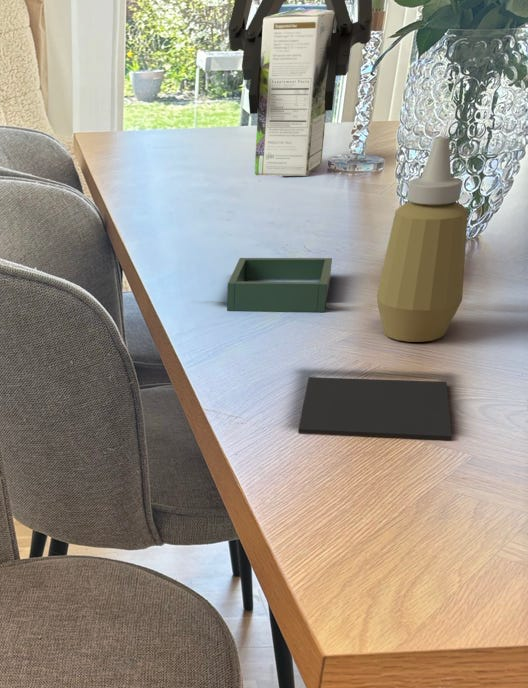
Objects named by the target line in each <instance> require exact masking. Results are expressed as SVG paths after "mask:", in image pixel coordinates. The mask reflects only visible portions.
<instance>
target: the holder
mask: <svg viewBox="0 0 528 688" xmlns="http://www.w3.org/2000/svg"><path fill="white" fill-rule="evenodd" d="M332 264H333V258H332V257H239V258H238V262H237V263H236V265H235V267H234V269H233V271H232V274H231V276H230V278H229V280H228V282H227V293H226V296H227V297H226V311H230V312H233V311H235V312H241V311H242V312H286V313H287V312H288V313H290V312H293V313H296V312H297V313H298V312H300V313H325V312H326V306H327V298H328V292H329V287H330V283H331V282H330V281H331V275H332V266H333V265H332ZM245 280H277V281H245ZM278 280H279V281H278ZM280 280H281V281H280ZM282 280H284V281H282ZM286 280H291V281H286ZM292 280H295V281H292ZM298 280H299V281H298ZM311 280H313V281H314V282H313V281H311Z"/></svg>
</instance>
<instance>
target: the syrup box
mask: <svg viewBox="0 0 528 688" xmlns="http://www.w3.org/2000/svg"><path fill="white" fill-rule="evenodd" d="M334 17H335V12H333V11H331V10H327V9H321V8H301V9H292V10H286V11H282V12H278V14H274V15H271V16H267V17H265V18H264V19H263V31H262V49H261V66H260V82H259V101H258V113H257V123H256V124H257V125H256V139H255V156H254V157H255V159H254V175H255V176H273V177H274V176H275V177H277V176H278V177H280V176H281V177H305V176H306V175H308V174H309V173H310V174H311V173H312V172H313V171H315V170H316V169H318V168H319V167H320V166H321V165H322V161H323V150H324V149H323V148H324V140H325V129H326V119H327V118H326V116H327V111H325V88H326V79H327V71H328V62H329V53H330V44H331V35H332V33H334V29H333V28H334ZM308 176H309V175H308ZM306 177H307V176H306Z"/></svg>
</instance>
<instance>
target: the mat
mask: <svg viewBox="0 0 528 688" xmlns="http://www.w3.org/2000/svg"><path fill="white" fill-rule="evenodd" d="M305 388H306V389H305V394H304V399H303V404H302V409H301V413H300V414H301V415H300V420H299V424H298V431H297V432H298V434H311V435H312V434H313V435H330V436H331V435H332V436H349V437H350V436H352V437H353V436H354V437H371V438H372V437H373V438H394V439H411V440H412V439H413V440H415V439H416V440H433V441H434V440H435V441H452V439H453V433H452V432H453V431H452V423H451V411H450V404H449V403H450V402H449V395H448V394H449V393H448V383H447V381H439V380H438V381H437V380H436V381H435V380H410V379H409V380H404V379H378V378H377V379H375V378H346V377H318V376H309V377H308V378H307V384H306V387H305Z"/></svg>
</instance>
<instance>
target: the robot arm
mask: <svg viewBox="0 0 528 688" xmlns="http://www.w3.org/2000/svg"><path fill="white" fill-rule="evenodd" d="M287 1H288V0H261V2H260V3H259V5H258V7H257V10H256V11H255V13H254V15H253V17H252V19H251V20H250V23H249V24H248V21H249V17H250V14H251V13H250V12H251V8H252V5H253V0H234V4H233V7H232V12H231V16H230V19H229V24H228V28H227V32H228V41H229V43H228V44H229V49H230V50H231V52H237V51H239V50H241V51H243V53H242V61H241V73H242V74H241V75H242V78H243V81H250V82H249V88H248V89H249V90H248V105H249V106H248V107H249V114H250V115H255V114H257V115H258V101H259V82H260V66H261V49H262V31H263V19H264V18H265V17H267V16H271V15H274V14H278V13H280V10H281V9H282V6H283V5H284V3H286V2H287ZM324 4H325V7H326V10H331V11H333V12H335V17H334V28H333V33H332V35H331V44H330V53H329V62H328V71H327V79H326V88H325V111H326V112H329V111H333V109H334V107H333V106H334V98H335V90H336V89H335V88H336V81H337V77H340V76H341V77H342V76H347V74H348V72H349V67H350V58H351V50H352V48H353V46H354V45H356V44H358V43H359V44H361V45H366V44H368V43H369V42H370V41H371V38H372V37H371V36H372V26H373V0H357V21H355V22H354V20H353V19H351V15H350V14H349V10H348V7H347V4H346V1H345V0H324ZM247 24H248V27H247Z"/></svg>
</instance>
